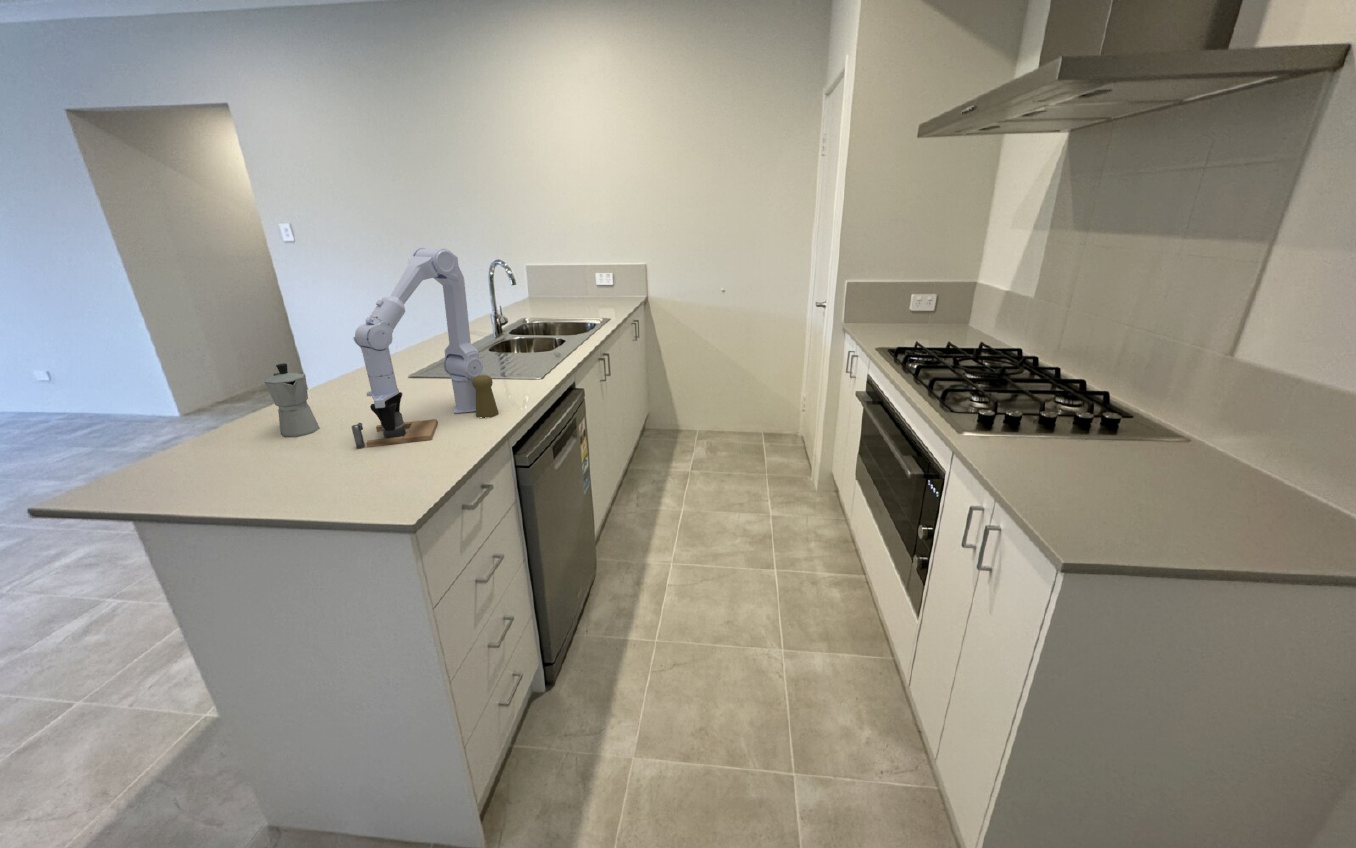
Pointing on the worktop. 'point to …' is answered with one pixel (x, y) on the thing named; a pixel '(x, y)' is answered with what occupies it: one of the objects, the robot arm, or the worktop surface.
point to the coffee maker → (291, 402)
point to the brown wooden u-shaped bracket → (409, 433)
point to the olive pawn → (484, 397)
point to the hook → (358, 435)
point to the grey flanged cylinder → (396, 427)
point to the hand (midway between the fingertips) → (392, 426)
